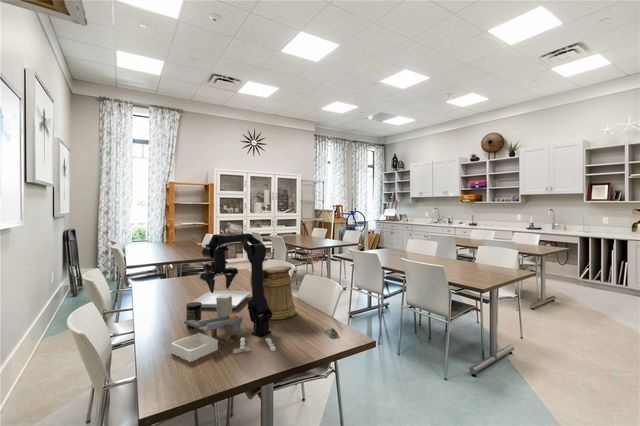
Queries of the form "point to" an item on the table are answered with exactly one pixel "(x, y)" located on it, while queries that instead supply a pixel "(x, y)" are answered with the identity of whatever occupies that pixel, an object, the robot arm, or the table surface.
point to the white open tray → (194, 346)
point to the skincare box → (224, 305)
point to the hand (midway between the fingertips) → (219, 290)
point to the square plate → (210, 298)
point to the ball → (232, 316)
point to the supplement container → (193, 312)
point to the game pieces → (243, 349)
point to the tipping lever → (216, 323)
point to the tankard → (278, 291)
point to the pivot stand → (223, 339)
